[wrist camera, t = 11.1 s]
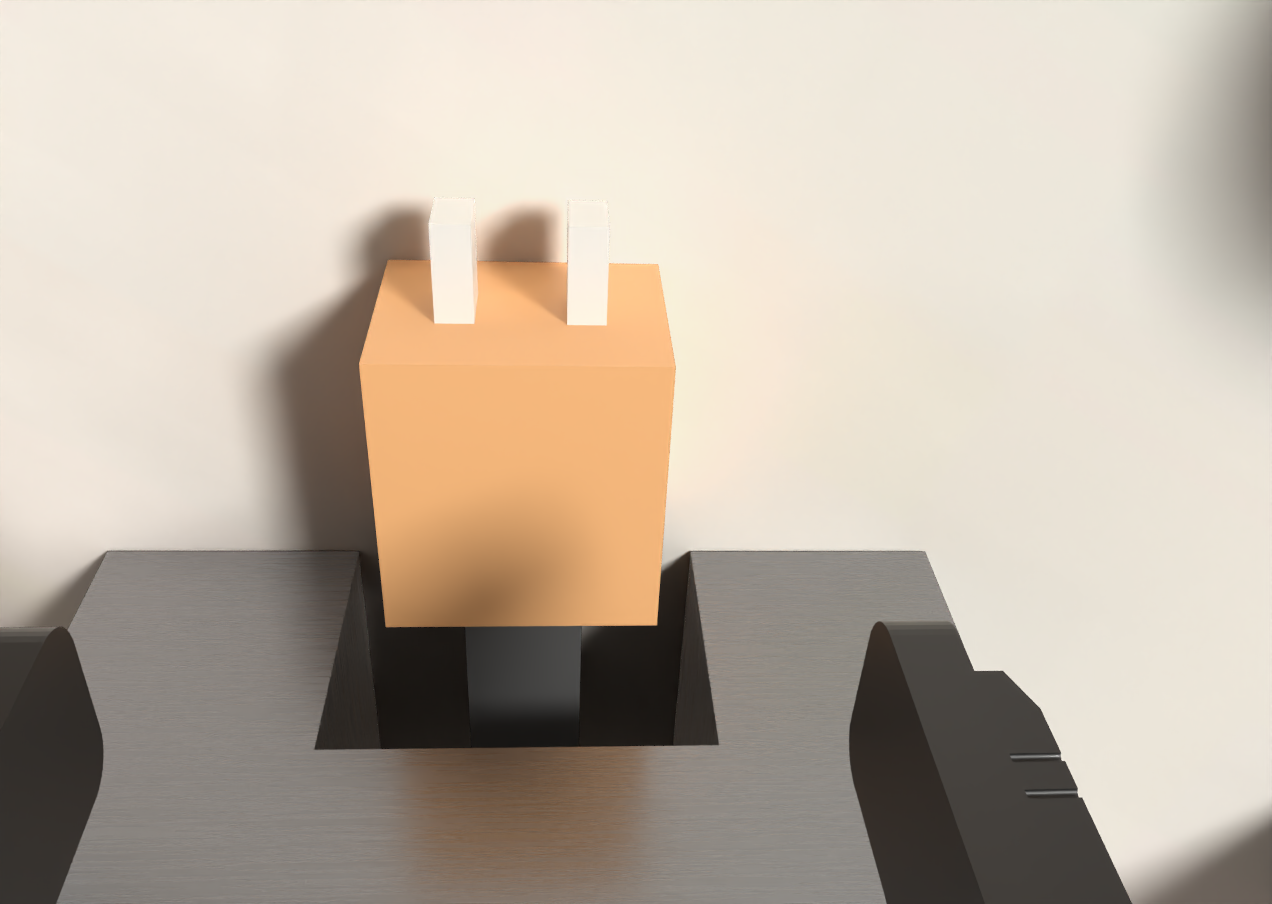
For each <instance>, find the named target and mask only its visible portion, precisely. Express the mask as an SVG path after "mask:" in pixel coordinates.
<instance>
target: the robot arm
mask: <svg viewBox="0 0 1272 904" xmlns="http://www.w3.org/2000/svg"><path fill="white" fill-rule="evenodd" d="M1060 755H1061V752H1060V750H1059V747H1058V745H1057V743H1056V741H1055V739H1054V737H1053V735H1052V732H1051V730H1050V728H1049V726H1048V724H1047V722H1046V720H1045V718H1044V715H1043V713H1042V711H1041V709H1040V708H1039V707H1038V706H1037V705H1036V704H1035V703H1034V702H1033V701H1032V700H1031V699H1030V698H1029V697H1028V696H1027V695H1026V694H1025V693H1024V692H1023V691H1022V690H1021V689H1020V688H1019V687H1018V686H1017V685H1016V684H1015V683H1014V682H1013V681H1012V680H1011V679H1010V678H1009V677H1008V676H1007V675H1006V674H1005V673H1004V672H1003V671H974V669H973V667H972V664H971V662H970V660H969V657H968V655H967V653H966V650H965V648H964V646H963V643H962V641H961V638H960V636H959V634H958V632H957V630H956V628H955V627H954V625H953V624H952V623H951V622H949V621H878V622H876V623H875V624H874V626H873V628H872V630H871V633H870V637H869V641H868V646H867V650H866V655H865V659H864V664H863V668H862V672H861V677H860V681H859V686H858V690H857V694H856V699H855V703H854V708H853V712H852V717H851V722H850V729H849V757H850V766H851V773H852V779H853V783H854V787H855V790H856V794H857V798H858V801H859V805H860V808H861V812H862V816H863V819H864V823H865V827H866V830H867V834H868V837H869V841H870V845H871V848H872V852H873V856H874V859H875V863H876V866H877V870H878V874H879V877H880V881H881V885H882V888H883V892H884V895H885V899H886V903H887V904H1132V903H1131V901H1130V899H1129V896H1128V894H1127V892H1126V890H1125V888H1124V886H1123V884H1122V882H1121V879H1120V877H1119V875H1118V873H1117V871H1116V869H1115V867H1114V865H1113V862H1112V860H1111V858H1110V856H1109V854H1108V852H1107V850H1106V847H1105V845H1104V843H1103V841H1102V839H1101V837H1100V835H1099V833H1098V830H1097V828H1096V826H1095V824H1094V822H1093V820H1092V818H1091V816H1090V813H1089V811H1088V809H1087V807H1086V805H1085V803H1084V801H1083V799H1082V798H1079V797H1078V794H1077V789H1078V788H1077V786H1076V784H1075V781H1074V779H1073V777H1072V775H1071V773H1070V771H1069V769H1068V767H1067V764H1066V762H1065V761H1062V760H1061V756H1060ZM103 759H104V748H103V738H102V732H101V728H100V725H99V722H98V719H97V715H96V712H95V709H94V706H93V702H92V699H91V696H90V693H89V689H88V686H87V683H86V680H85V676H84V673H83V670H82V667H81V663H80V660H79V657H78V654H77V650H76V647H75V644H74V641H73V638H72V636H71V635H70V633H69V632H68V631H67V629H65V628H63V627H11V628H0V904H56V903H57V900H58V898H59V895H60V892H61V890H62V887H63V885H64V882H65V879H66V877H67V874H68V871H69V869H70V866H71V864H72V861H73V858H74V856H75V853H76V850H77V848H78V845H79V842H80V840H81V837H82V835H83V832H84V829H85V827H86V824H87V821H88V819H89V816H90V814H91V811H92V808H93V806H94V803H95V800H96V798H97V795H98V791H99V787H100V783H101V778H102V771H103Z"/></svg>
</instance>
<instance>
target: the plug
mask: <svg viewBox="0 0 1272 904" xmlns="http://www.w3.org/2000/svg"><path fill="white" fill-rule="evenodd" d="M428 225H429V242H430V258H431V260H388V261H387V265H386V269H385V272H384V276H383V279H382V283H381V287H380V290H379V294H378V297H377V301H376V305H375V308H374V312H373V315H372V319H371V323H370V326H369V330H368V333H367V337H366V341H365V344H364V348H363V351H362V355H361V359H360V362H359V370H360V380H361V390H362V399H363V409H364V419H365V429H366V438H367V448H368V458H369V468H370V477H371V487H372V497H373V507H374V516H375V526H376V536H377V546H378V555H379V565H380V575H381V585H382V594H383V604H384V614H385V624H386V627H465V636H466V656H467V675H468V695H469V714H470V734H471V748H523V747H579V706H580V665H581V626H631V625H657V617H658V603H659V590H660V576H661V562H662V548H663V535H664V521H665V507H666V494H667V480H668V466H669V453H670V439H671V425H672V412H673V398H674V384H675V370H676V366H675V360H674V354H673V348H672V343H671V337H670V331H669V325H668V319H667V313H666V307H665V302H664V296H663V290H662V284H661V278H660V272H659V266H658V264H614V263H609V242H610V222H609V212H608V202H607V201H593V200H568V227H567V263H556V262H499V261H477V250H476V222H475V198H443V197H434V201H433V206H432V210H431V215H430V219H429V224H428Z"/></svg>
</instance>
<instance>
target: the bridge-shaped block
mask: <svg viewBox="0 0 1272 904" xmlns="http://www.w3.org/2000/svg"><path fill="white" fill-rule="evenodd" d="M878 621H949V622H951V623H952V624H953V625H954V627H955V628H956V626H955V623H954V621H953V618H952V616H951V614H950V611H949V609H948V606H947V604H946V601H945V599H944V597H943V594H942V592H941V589H940V587H939V584H938V582H937V579H936V577H935V575H934V572H933V570H932V567H931V565H930V562H929V560H928V558H927V555H926V553H925V552H691V553H690V564H689V575H688V586H687V597H686V608H685V619H684V630H683V641H682V652H681V663H680V673H679V684H678V695H677V706H676V717H675V728H674V739H673V746H612V747H523V748H435V749H381V744H380V735H379V726H378V718H377V709H376V700H375V691H374V682H373V674H372V665H371V656H370V647H369V638H368V629H367V621H366V612H365V603H364V594H363V585H362V576H361V568H360V559H359V551H107V553H106V555H105V557H104V559H103V561H102V563H101V565H100V567H99V569H98V571H97V573H96V575H95V577H94V579H93V581H92V583H91V585H90V587H89V589H88V590H87V592H86V594H85V596H84V598H83V600H82V602H81V604H80V606H79V608H78V610H77V612H76V614H75V616H74V618H73V620H72V622H71V624H70V626H69V628H68V630H67V631H68V632H69V633H70V635H71V636H72V638H73V641H74V644H75V647H76V650H77V654H78V657H79V660H80V663H81V667H82V670H83V673H84V676H85V680H86V683H87V686H88V689H89V693H90V696H91V699H92V702H93V706H94V709H95V712H96V715H97V719H98V722H99V725H100V728H101V732H102V738H103V748H104V759H103V771H102V778H101V783H100V787H99V791H98V795H97V798H96V800H95V803H94V806H93V808H92V811H91V814H90V816H89V819H88V821H87V824H86V827H85V829H84V832H83V835H82V837H81V840H80V842H79V845H78V848H77V850H76V853H75V856H74V858H73V861H72V864H71V866H70V869H69V871H68V874H67V877H66V879H65V882H64V885H63V887H62V890H61V892H60V895H59V898H58V900H57V903H56V904H887V903H886V899H885V895H884V892H883V888H882V885H881V881H880V877H879V874H878V870H877V866H876V863H875V859H874V856H873V852H872V848H871V845H870V841H869V837H868V834H867V830H866V827H865V823H864V819H863V816H862V812H861V808H860V805H859V801H858V798H857V794H856V790H855V787H854V783H853V779H852V773H851V766H850V757H849V729H850V722H851V717H852V712H853V708H854V703H855V699H856V694H857V690H858V686H859V681H860V677H861V672H862V668H863V664H864V659H865V655H866V650H867V646H868V641H869V637H870V633H871V630H872V628H873V626H874V624H875V623H876V622H878ZM956 630H957V628H956ZM957 632H958V631H957ZM958 634H959V633H958ZM959 636H960V635H959ZM961 641H962V640H961ZM963 646H964V645H963Z"/></svg>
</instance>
